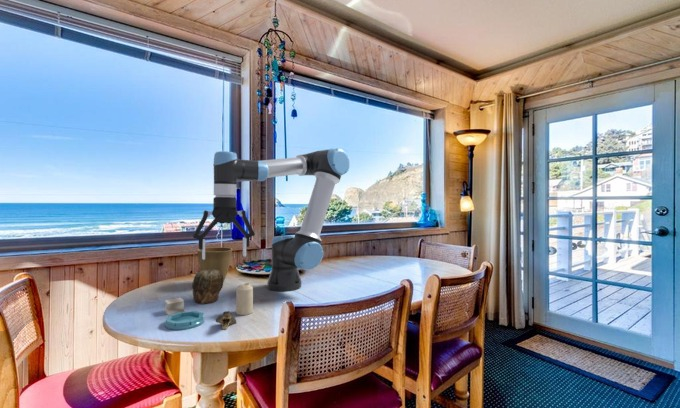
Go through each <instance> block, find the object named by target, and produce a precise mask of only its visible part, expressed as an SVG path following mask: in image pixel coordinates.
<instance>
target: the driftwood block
mask: <svg viewBox="0 0 680 408" xmlns="http://www.w3.org/2000/svg"><path fill="white" fill-rule="evenodd" d="M184 311H185V300H184V299H183V298H182V297H177V298H171V299H165V300H164V312H165V313H166V315H167V316H169V315H172V314H175V313H178V312H184Z"/></svg>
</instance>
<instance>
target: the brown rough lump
mask: <svg viewBox="0 0 680 408" xmlns="http://www.w3.org/2000/svg"><path fill="white" fill-rule="evenodd" d="M223 286H224V282H223V275H222V273H221V272H220V271H219V270H214V269H213V270H209V269H208V270H202V271H201V270H200V271H198V272H197V273H196V274H195V276H194V277H193V279H192V285H191V288H192V298H193V300H194V303H196V304H212V303H215V302H216V301H218V299H219V298H220V296H219V294H220V293H221V291H222V289H223Z"/></svg>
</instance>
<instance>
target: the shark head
mask: <svg viewBox="0 0 680 408" xmlns="http://www.w3.org/2000/svg"><path fill="white" fill-rule="evenodd" d="M214 322H216V323H219V324H220V325H221V329H222V330H224V331H226V330H227V329H229V326H230V325H235V324H237V320H236V317H235V316H234V315H233V312H232V311H230V310H226V311H223V312H222V314H219V315H217V316H216V318H215V321H214Z"/></svg>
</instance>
